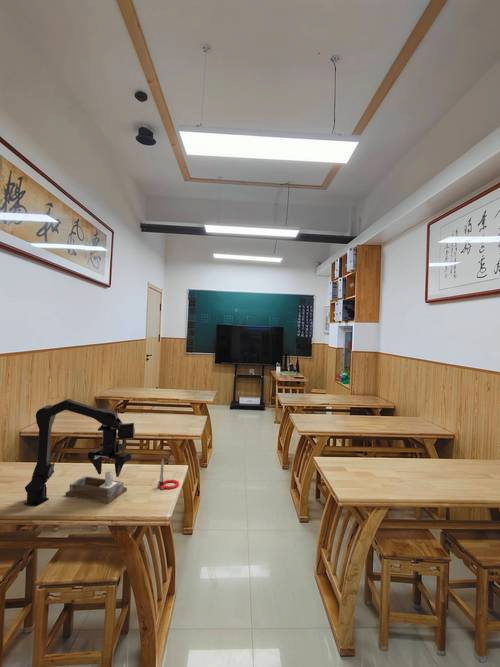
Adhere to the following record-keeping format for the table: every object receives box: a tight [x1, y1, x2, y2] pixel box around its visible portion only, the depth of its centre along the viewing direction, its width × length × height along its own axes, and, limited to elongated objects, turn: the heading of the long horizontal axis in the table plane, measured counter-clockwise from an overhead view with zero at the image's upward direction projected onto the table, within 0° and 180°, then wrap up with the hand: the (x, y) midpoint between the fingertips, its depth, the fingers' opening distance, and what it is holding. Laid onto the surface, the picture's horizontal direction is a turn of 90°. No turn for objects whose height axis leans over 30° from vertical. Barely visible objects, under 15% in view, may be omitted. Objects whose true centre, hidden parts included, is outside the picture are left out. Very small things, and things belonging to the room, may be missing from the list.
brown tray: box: [65, 475, 128, 505], centre depth 145 cm, size 12×22×4 cm, turn 75°
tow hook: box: [157, 458, 180, 491], centre depth 154 cm, size 8×13×9 cm
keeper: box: [99, 471, 118, 489], centre depth 143 cm, size 6×5×8 cm
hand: (108, 475), depth 143 cm, fingers open, 9 cm apart
